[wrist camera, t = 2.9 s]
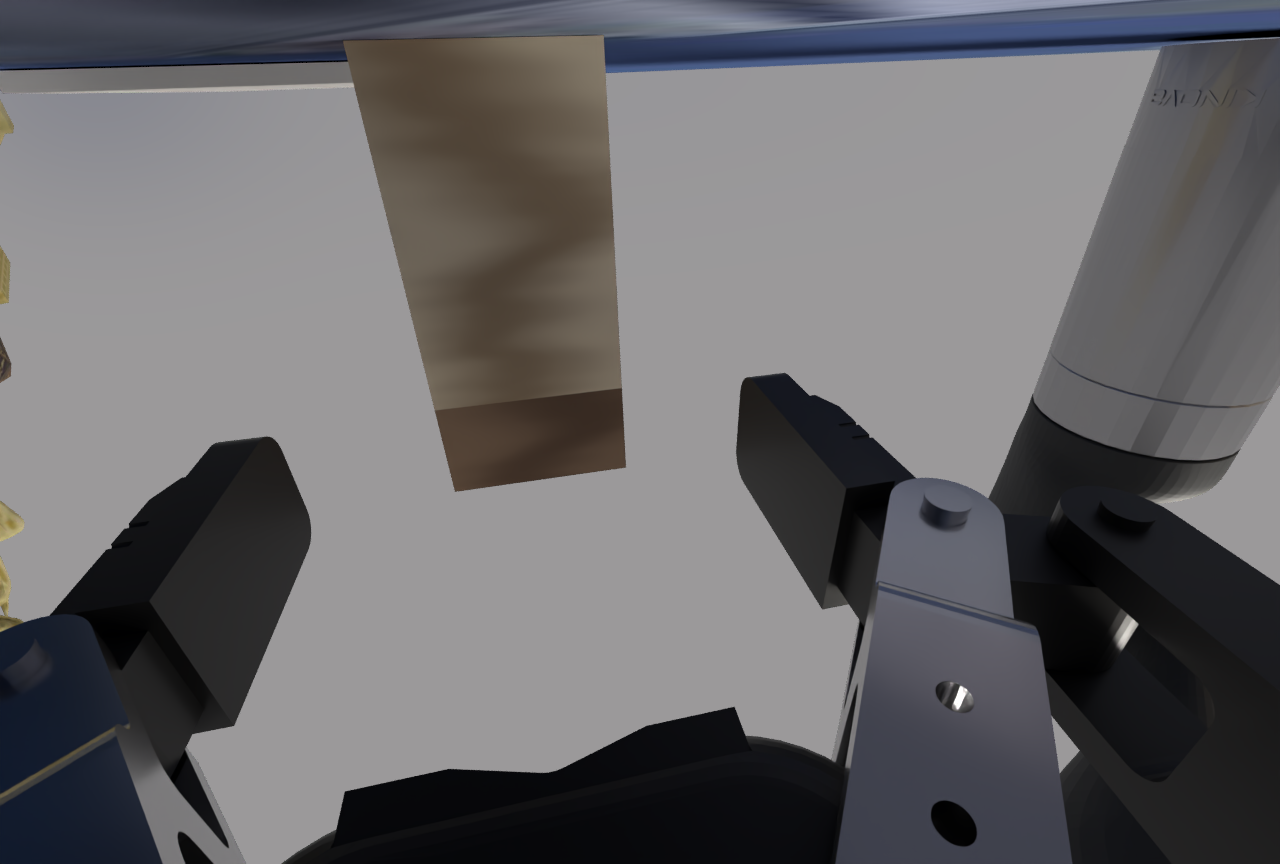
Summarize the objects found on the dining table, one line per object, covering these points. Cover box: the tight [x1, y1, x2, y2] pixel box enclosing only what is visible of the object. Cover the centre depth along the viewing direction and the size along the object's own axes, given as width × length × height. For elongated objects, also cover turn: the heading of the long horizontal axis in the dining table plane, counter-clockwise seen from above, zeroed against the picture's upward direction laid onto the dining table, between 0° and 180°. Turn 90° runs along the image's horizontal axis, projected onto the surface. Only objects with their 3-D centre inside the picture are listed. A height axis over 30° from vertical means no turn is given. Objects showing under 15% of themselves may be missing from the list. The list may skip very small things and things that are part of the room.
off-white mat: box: [0, 62, 354, 94], centre depth 26 cm, size 16×16×1 cm
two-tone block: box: [343, 35, 626, 492], centre depth 18 cm, size 6×6×12 cm
